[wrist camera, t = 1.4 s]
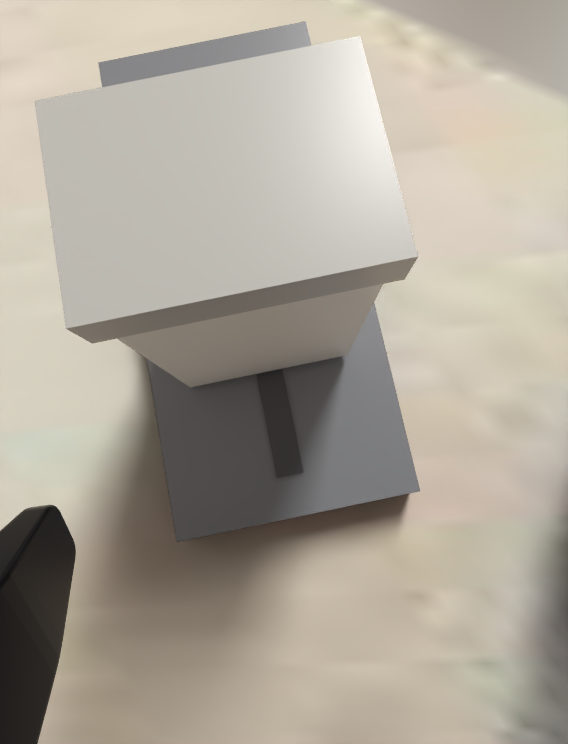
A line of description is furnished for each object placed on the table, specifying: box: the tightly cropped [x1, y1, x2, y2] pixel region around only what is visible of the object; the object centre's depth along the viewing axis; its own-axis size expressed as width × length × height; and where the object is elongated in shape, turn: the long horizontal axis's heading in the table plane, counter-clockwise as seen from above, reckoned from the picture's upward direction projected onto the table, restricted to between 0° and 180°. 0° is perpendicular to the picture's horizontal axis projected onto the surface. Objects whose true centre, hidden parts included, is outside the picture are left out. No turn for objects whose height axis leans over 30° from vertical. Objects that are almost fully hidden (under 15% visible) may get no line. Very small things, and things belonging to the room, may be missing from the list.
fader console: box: [99, 22, 420, 542], centre depth 21 cm, size 20×9×2 cm, turn 12°
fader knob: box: [35, 36, 418, 388], centre depth 15 cm, size 5×6×10 cm
